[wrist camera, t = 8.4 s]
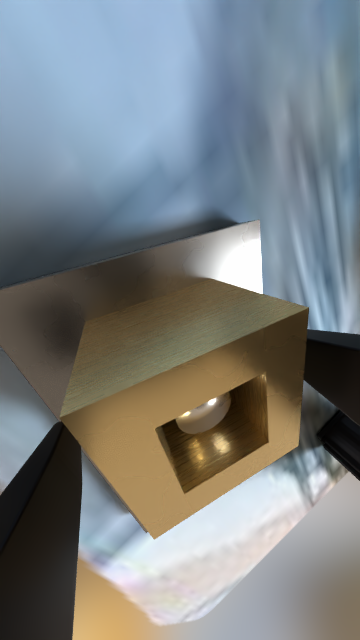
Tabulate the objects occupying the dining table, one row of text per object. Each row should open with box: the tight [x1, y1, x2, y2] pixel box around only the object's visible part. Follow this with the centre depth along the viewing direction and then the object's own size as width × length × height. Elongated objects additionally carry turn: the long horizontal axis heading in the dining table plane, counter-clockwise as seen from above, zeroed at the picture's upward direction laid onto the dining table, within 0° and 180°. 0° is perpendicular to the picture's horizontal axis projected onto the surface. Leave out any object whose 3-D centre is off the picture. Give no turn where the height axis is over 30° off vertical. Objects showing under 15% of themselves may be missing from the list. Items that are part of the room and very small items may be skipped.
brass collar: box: [59, 279, 309, 539], centre depth 8 cm, size 6×6×5 cm
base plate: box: [0, 220, 262, 533], centre depth 11 cm, size 20×12×6 cm, turn 14°
